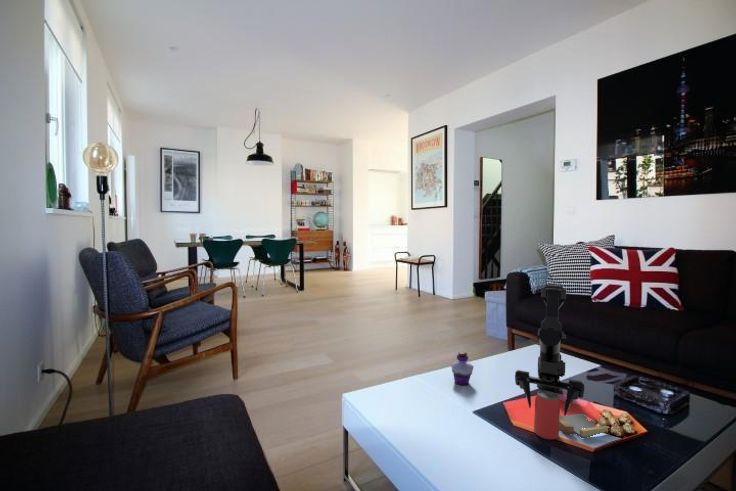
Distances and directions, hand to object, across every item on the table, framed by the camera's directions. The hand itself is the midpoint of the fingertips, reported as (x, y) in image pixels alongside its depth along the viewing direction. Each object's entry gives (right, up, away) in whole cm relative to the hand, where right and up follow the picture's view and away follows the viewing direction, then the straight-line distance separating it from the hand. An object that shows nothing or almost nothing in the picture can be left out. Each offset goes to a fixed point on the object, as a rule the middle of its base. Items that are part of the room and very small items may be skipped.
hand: (547, 411), depth 108 cm
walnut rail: (+7, -7, +7) cm, 12 cm away
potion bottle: (-16, -5, +36) cm, 40 cm away
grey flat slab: (+14, -7, +5) cm, 16 cm away
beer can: (0, -7, +1) cm, 8 cm away
